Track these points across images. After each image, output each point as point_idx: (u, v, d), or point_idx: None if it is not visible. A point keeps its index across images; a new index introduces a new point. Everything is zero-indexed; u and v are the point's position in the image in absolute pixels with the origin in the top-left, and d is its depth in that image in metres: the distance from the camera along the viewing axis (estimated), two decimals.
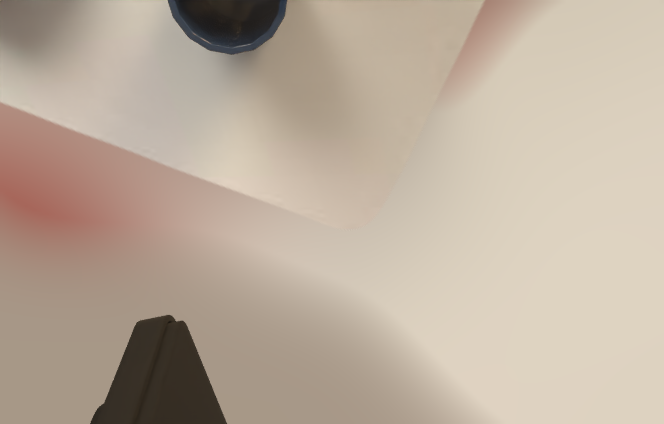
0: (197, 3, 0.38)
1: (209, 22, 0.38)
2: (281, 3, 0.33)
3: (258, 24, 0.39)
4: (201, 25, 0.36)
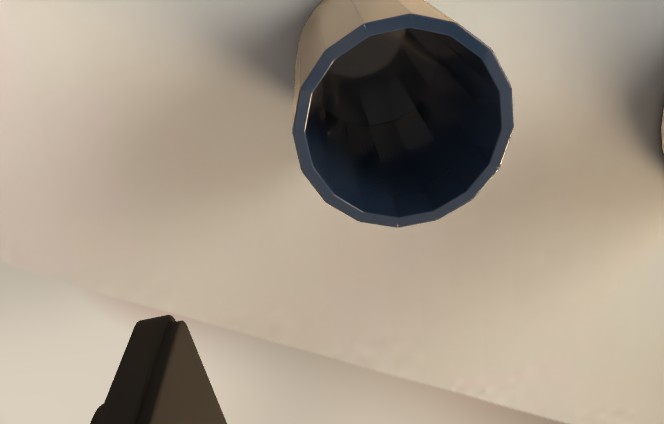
0: None
1: None
2: (380, 217, 0.19)
3: (311, 107, 0.24)
4: None
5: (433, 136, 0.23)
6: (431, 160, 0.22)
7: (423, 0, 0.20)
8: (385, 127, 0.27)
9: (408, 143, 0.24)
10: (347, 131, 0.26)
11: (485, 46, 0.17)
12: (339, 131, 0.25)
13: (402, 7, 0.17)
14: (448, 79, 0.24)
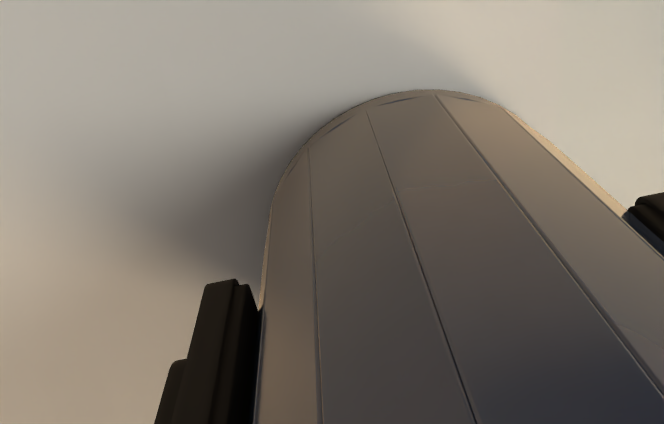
0: None
1: None
2: None
3: None
4: None
5: None
6: None
7: (610, 211, 0.07)
8: None
9: None
10: None
11: None
12: None
13: None
14: None
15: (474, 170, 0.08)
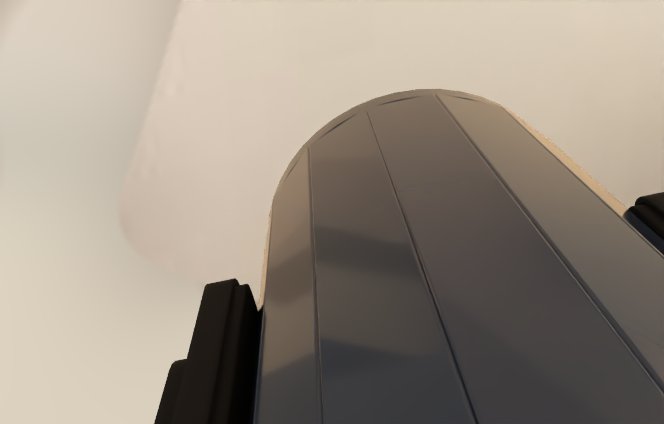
0: None
1: None
2: None
3: None
4: None
5: None
6: None
7: (612, 211, 0.07)
8: None
9: None
10: None
11: None
12: None
13: None
14: None
15: (475, 170, 0.08)
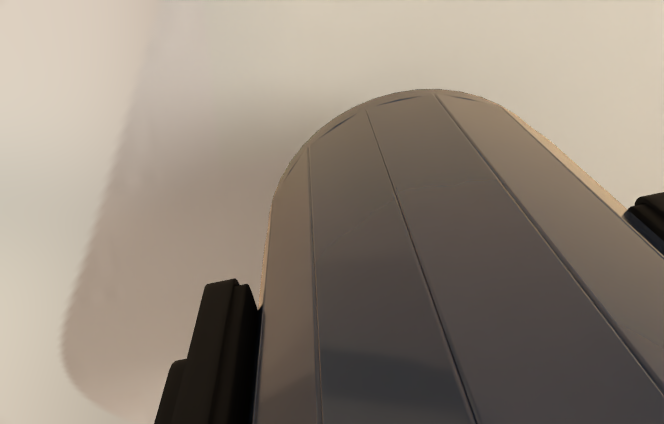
0: None
1: None
2: None
3: None
4: None
5: None
6: None
7: (611, 211, 0.07)
8: None
9: None
10: None
11: None
12: None
13: None
14: None
15: (474, 170, 0.08)
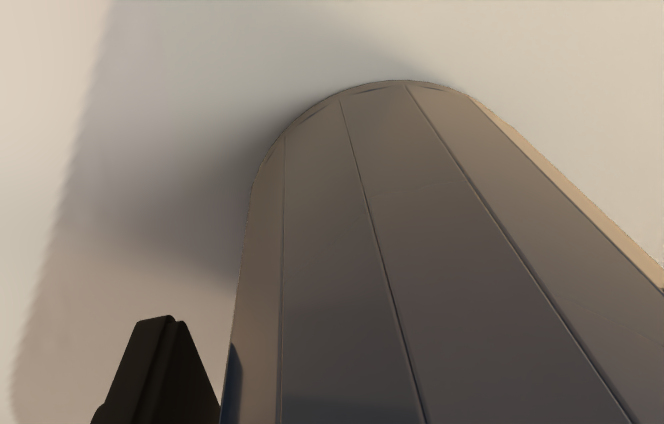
0: None
1: None
2: None
3: None
4: None
5: None
6: None
7: (554, 186, 0.08)
8: None
9: None
10: None
11: None
12: None
13: (586, 364, 0.04)
14: None
15: (432, 150, 0.08)
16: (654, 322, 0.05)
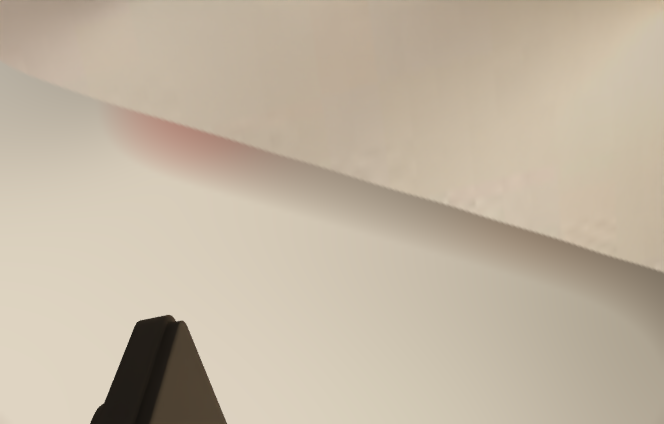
0: None
1: None
2: None
3: None
4: None
5: None
6: None
7: None
8: None
9: None
10: None
11: None
12: None
13: None
14: None
15: None
16: None
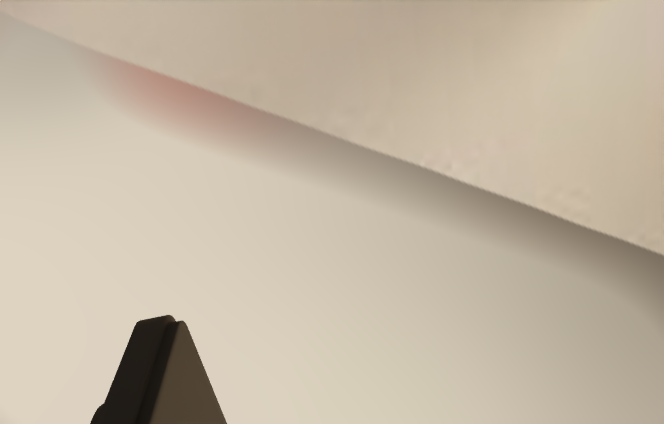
0: None
1: None
2: None
3: None
4: None
5: None
6: None
7: None
8: None
9: None
10: None
11: None
12: None
13: None
14: None
15: None
16: None
